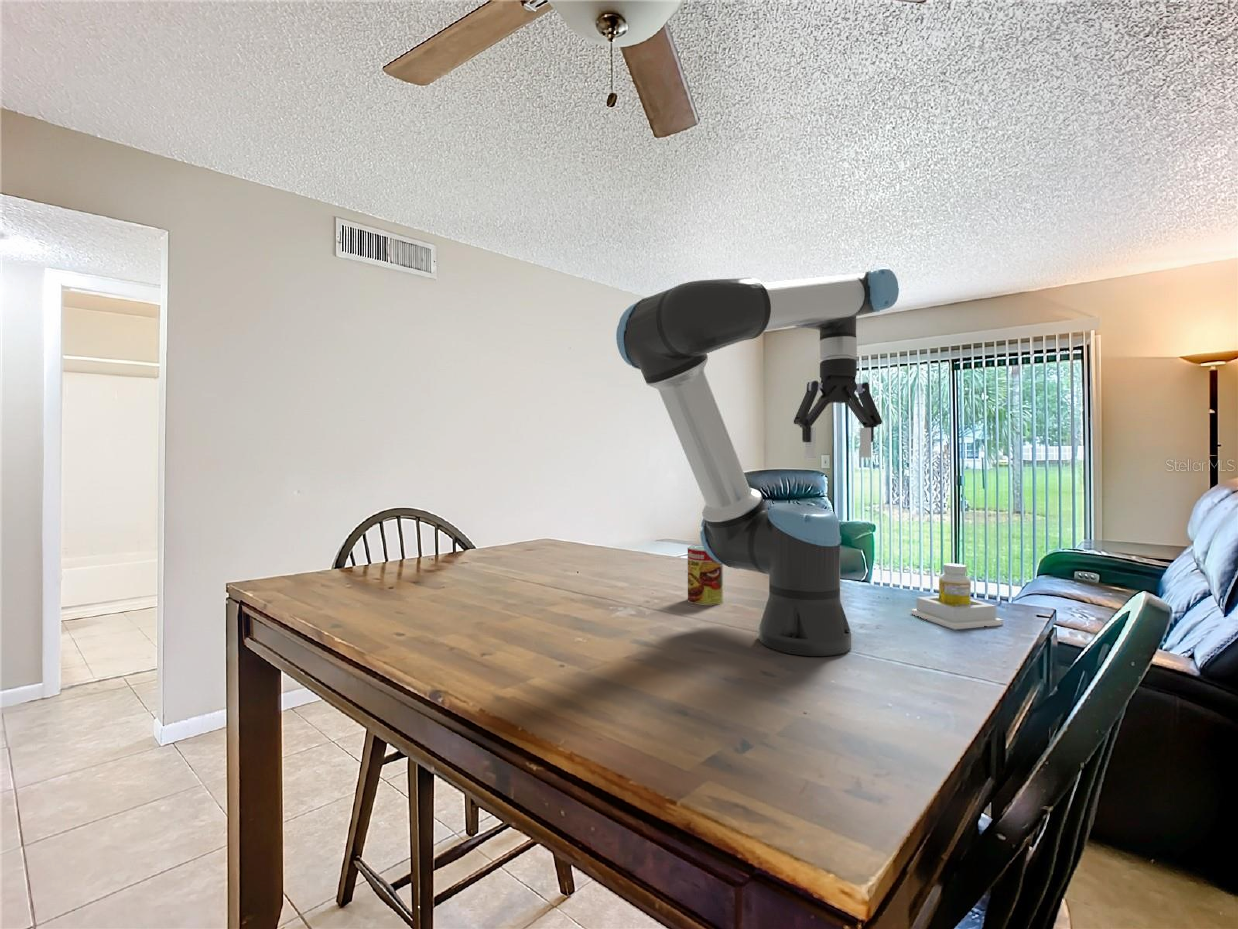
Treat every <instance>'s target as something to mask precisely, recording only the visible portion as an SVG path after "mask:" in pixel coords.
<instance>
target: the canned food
mask: <svg viewBox="0 0 1238 929" xmlns="http://www.w3.org/2000/svg"><path fill="white" fill-rule="evenodd" d="M687 601H688V603H690V602H692V603H691V604H693V603H695V604H694V605H699V606H716V605H720V603H721V604H723V603H724V565H723V564H720V563H718V562H716V561H714V560H713V559H712V558H711V557H710V556H709V555H708V554H707V553H706V551H705V549H704V547H703V545H702V544H693V545H688V546H687ZM722 602H723V603H722Z"/></svg>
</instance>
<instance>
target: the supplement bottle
mask: <svg viewBox="0 0 1238 929" xmlns="http://www.w3.org/2000/svg"><path fill="white" fill-rule="evenodd" d="M967 566H968V565H967V564H962V563H951V562H946V563H945V562H944V563H943V565H942V570H943V572H944V573H942V574H940V575H939V578H938V579H939V580H938V596H939V602H941V603H944V604H947V605H951V606H954V607H957V606H970V600H971V599H972V598H971V592H972V591H971V587H972V584H971V583H972V581H971V578H970V577H969V576H967V575H966V574H967V573H968V567H967Z"/></svg>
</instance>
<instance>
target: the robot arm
mask: <svg viewBox="0 0 1238 929" xmlns="http://www.w3.org/2000/svg"><path fill="white" fill-rule="evenodd" d="M899 292H900V288H899V281H898V278H897V276H896V275H895V272H894V271H893V270H891V269H890V268H887V267H878V268H877V269H876V268H875V269H870V270H869V271H865V272H860V273H856V274H855V273H854V274H845V275H844V274H843V275H833V276H832V275H831V276H822V277H813V278H811V277H810V278H803V279H790V280H780V281H771V282H769V281H768V282H762V281H760V280H758V279H757V278H754V277H742V278H741V277H740V278H739V277H738V278H720V279H719V278H717V279H715V278H714V279H700V280H694V281H693V280H692V281H688V282H684V283H681V284H678V285H676V286H674V287H672V288H669V289H666V290H664V291H662V292H659V293H656V294H653V295H650V296H647V297H644V298H641V299H640V300H639V301H636V302H635V303H634V304H632V305H631V306H629V307H627V309H625V311H624V312H623V313H622V315H621V316H620V318H619V322H618V325H617V327H616V334H615V335H616V336H615V337H616V340H615V341H616V345H617V349H618V352H619V354H620V356H621V358H622V359H623V361H624V362H625V363H626V364H627V365H629V366H631V367H632V368H634V369H636V370H637V369H638V370H640V372H641V374H642V376H643V379H644V381H645V383H646V385H647V386H649V387H652V388H654V389H656V390H658V392H659V395H660V397H661V399H662V402H663V404H664V406H665V409H666V411H667V414H668V416H669V418H670V421H671V423H672V426H673V428H674V430H675V433H676V435H677V437H678V439H679V441H680V445H681V447H682V450H683V451H684V454H685V456H686V459H687V461H688V464H689V466H690V468H691V471H692V473H693V476H694V479H695V480H696V483H697V485H698V487H699V490H700V492H701V496H702V497H703V500H704V501H705V506H704V507H703V509H702V513H701V514H702V518H703V519H702V520H701V524H700V527H702V529H701V530H700V531H699V532H700V533H699V534H700V535H699V536H700V540H701V545H703V547H704V549H705V551H706V553H707V554H708V555H709V556H710V557H711V558H712V559H713V560H714V561H716V562H718V563H720V564H723V566H726V567H727V568H732V569H735V570H736V569H737V570H738V569H739V570H740V569H741V570H747V571H752V572H756V573H760V574H765V575H768V584H769V586H768V598H767V602H766V605H765V607H764V611H763V613H762V617H761V620H760V622H759V625H758V633H759V634H758V640H759V642H760V643H761V644H762V645H763V646H765V647H767V648H769V649H772V650H775V651H778V652H781V653H786V654H791V655H797V656H805V657H806V656H808V657H828V656H829V657H830V656H836V655H837V656H838V655H841V654H845V653H846V652H849V651H850V650H851V649H852V645H853V644H852V641H853V640H852V632H851V628H850V626H849V622H848V619H847V617H846V614H845V610H844V608H843V605H842V601H841V543H842V536H841V532H840V521H839V518H838V517H837V515H836V514H835V513H834V512H833V511H831V510H829V509H826V508H823V507H820V506H813V505H808V504H799V503H788V502H787V503H785V502H782V503H781V502H780V503H774V504H772V505H770V506H769V507H768V508H767V506H766V504H765V500H764V499H763V495H762V493H761V492H760V491H759V490H758V489H755V488H752V487H750V485H749V482H748V481H747V480H748V479H747V478H746V475H745V473H744V470H743V467H742V465H741V463H740V459H739V457H738V455H737V452H736V450H735V447H734V444H733V443H732V440H731V436H730V435H729V432H728V429H727V427H726V425H725V424H726V423H725V422H724V419H723V416H722V414H721V411H720V409H719V407H718V406H719V405H718V404H717V400H716V399H715V397H714V394H713V392H712V389H711V388H712V387H711V386H710V384H709V381H708V378H707V376H706V374H705V367H706V366H707V363H708V360H709V356H708V354H710V353H712V352H715V351H717V350H721V349H722V348H726V347H729V346H731V345H734V344H737V343H741V342H744V341H748V340H754V339H757V338H759V337H761V336H762V334H764V333H765V332H766V331H770V330H771V331H772V330H776V329H783V328H789V327H796V328H804V329H805V328H806V329H811V330H812V329H813V330H819V359H820V360H822V361H821V362H820V363H819V377H820V382H819V381H818V380H812V381H809V382H807V384H806V392H805V395H804V397H803V399H802V401H801V403H800V406H799V408H798V410H797V412H796V415H795V417H794V418H793V424H794V425H797V426H798V427H799V428H801V429H802V432H801V434H802V435H801V437H802V443H805V447H804V448H805V450H804V451H805V458H806V459H815V458H816V454H817V452H816V451H817V450H816V448H817V446H816V440H817V439H816V435H817V434H816V427H815V426H813V425H814V423H815V422H816V421H817V420H818V418H819V417H820V415H822V412H823V411H824V410H825V409H826V408H827V406H828V405H829V404H835V403H837V404H845V405H846V406H848V408H849V410H851V412H853V414H854V415H855V417H856V419H857V420H858V421H859V422H860V424H861V426H862V427H860V428H859V455H860V456H859V458H872V443H873V442H874V438H875V437H874V432H875V431H874V429H875V428H877V427H878V426H880V425H882V424H883V420H882V417H881V416H880V413H879V410H878V408H877V406H876V404H875V401H874V399H873V397H872V394H871V391H870V384H869V382H868V381H866V382H865V381H864V382H860V383H856V382H857V381H856V377H857V374H858V370H857V369H858V366H857V364H858V362H857V360H856V359H855V358H856V357H857V356H858V346H857V343H858V342H857V341H858V340H857V317H859V316H863V315H868V314H873V313H879V312H881V311H883V310H887V309H890V308H892V307H893V306H895V304H896V303H897V301H898V298H899V294H900V293H899ZM819 391H820V392H821V395H820V396H819V397H818V399H817V402H816V403H815V405H814V406H813V403H814V401H815V399H816V396H817V394H818V392H819ZM855 392H856V393H857V394H856V393H855ZM812 406H813V407H812Z"/></svg>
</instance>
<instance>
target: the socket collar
mask: <svg viewBox="0 0 1238 929" xmlns="http://www.w3.org/2000/svg"><path fill="white" fill-rule="evenodd" d="M912 614H913V615H912ZM910 615H912V616H914V615H915V617H917V616H919V617H918V618H920V617H921V619H922V620H926V619H927V620H926V621H929V622H932V623H935V624H938V625H941V626H943V627H946V628H949V629H951V630H964V629H965V630H966V629H973V628H974V629H975V628H985V627H984V626H987V627H995V626H996V627H997V626H1003V625H1004V619H1002V618H998V617H997V605H996V604H995V605H994V604H991V603H987V602H984V601H980V600H977V599H973V598H971V600H970V606H957V607H954V606H951V605H947V604H944V603H941V602H939V595H932V596H931V595H930V596H920V597H916V608H911V609H910Z"/></svg>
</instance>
